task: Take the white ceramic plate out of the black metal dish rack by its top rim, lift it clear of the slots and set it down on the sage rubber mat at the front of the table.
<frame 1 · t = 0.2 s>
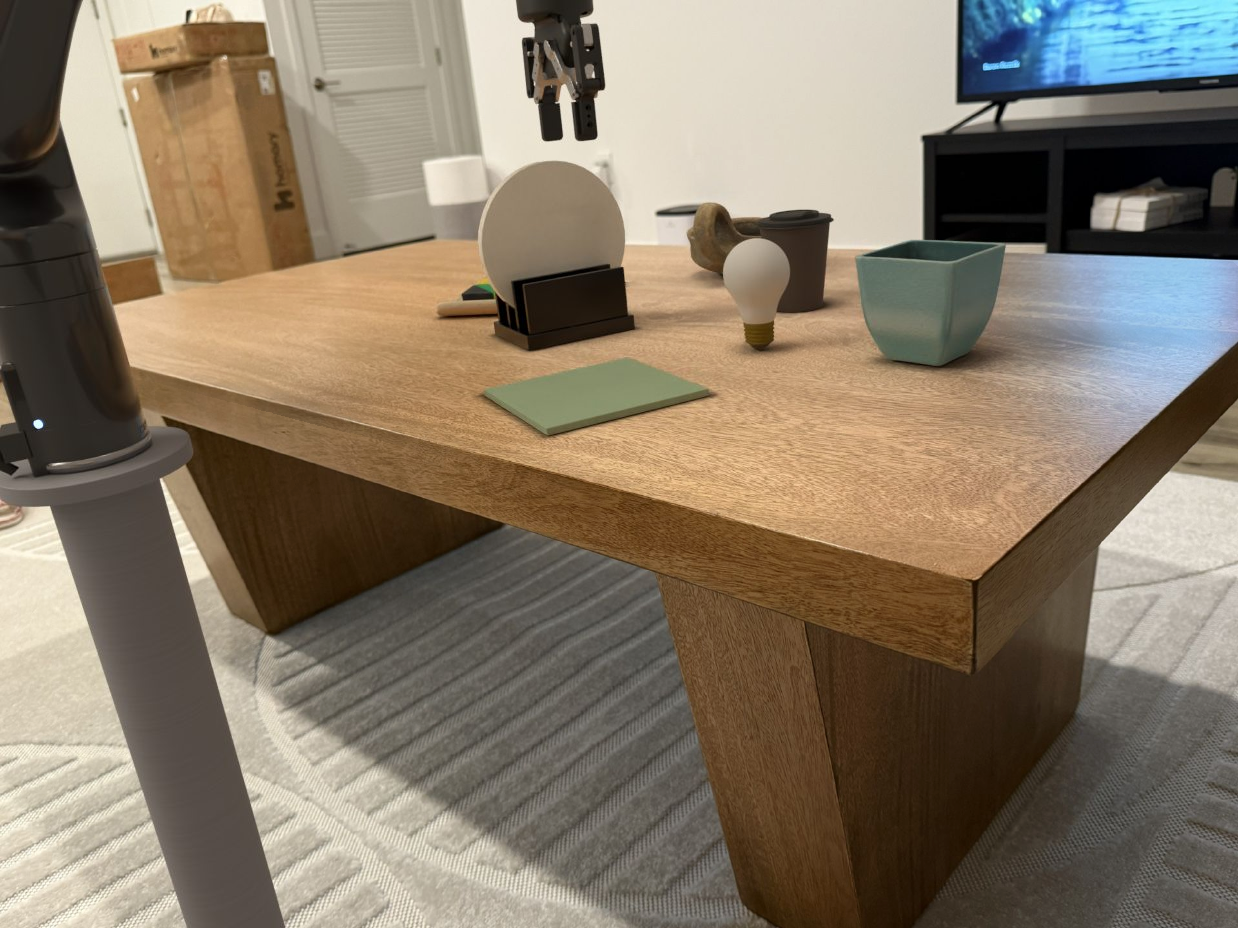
hand: (569, 140, 101), 19 cm above the table, tool pointing down, fingers open, 8 cm apart
rack: (563, 332, 105), on the table
flower pot: (928, 360, 82), on the table
plate: (562, 318, 104), point 2 cm above the table, touching rack
wooden puzzle: (529, 302, 124), on the table
mat: (592, 395, 81), on the table
light bulb: (760, 351, 90), on the table
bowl: (736, 277, 126), on the table
coffee cup: (797, 308, 105), on the table
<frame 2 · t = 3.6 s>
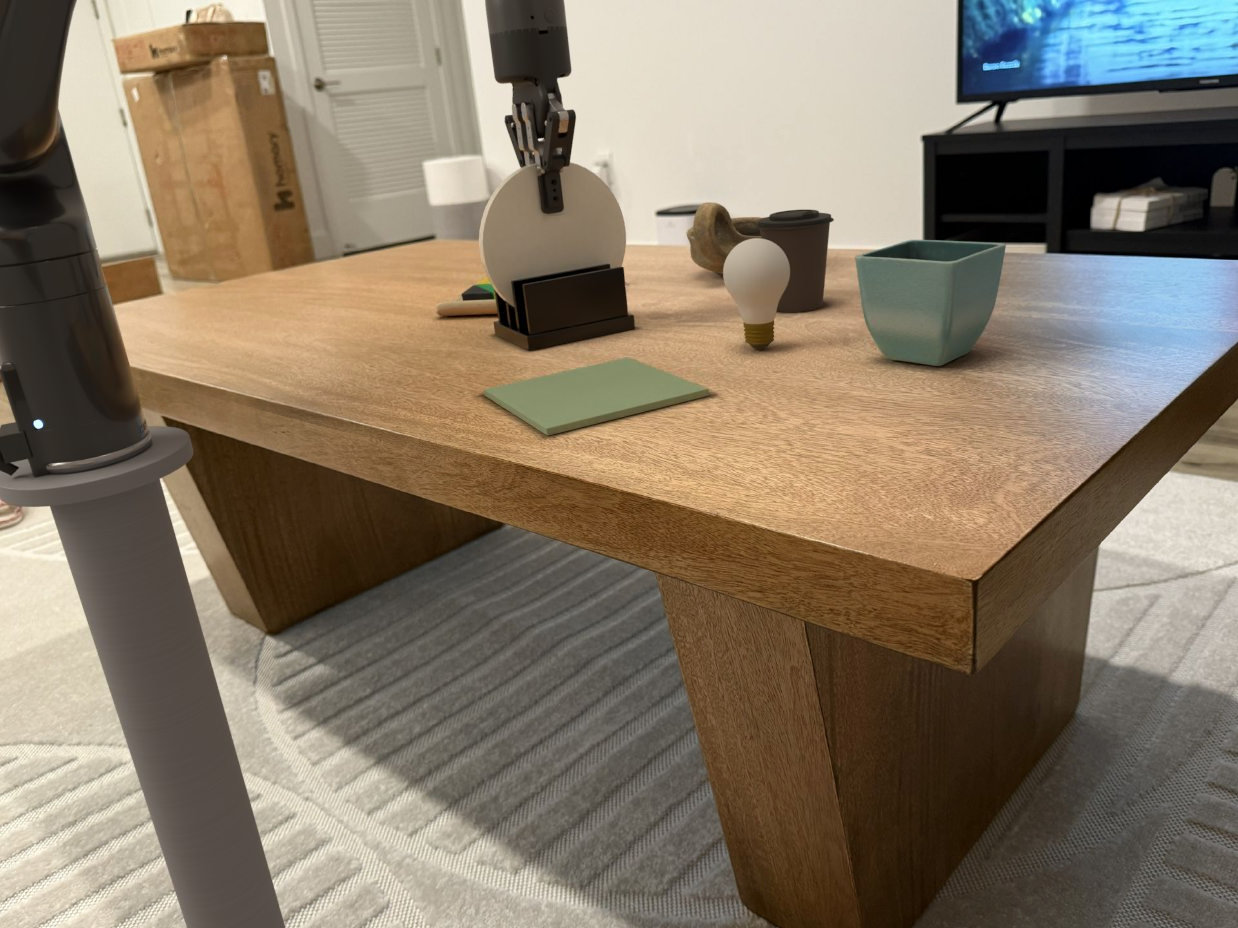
hand: (549, 211, 100), 13 cm above the table, tool pointing down, fingers closed on plate, 1 cm apart
plate: (562, 318, 104), point 2 cm above the table, touching gripper, rack
everything else where it was.
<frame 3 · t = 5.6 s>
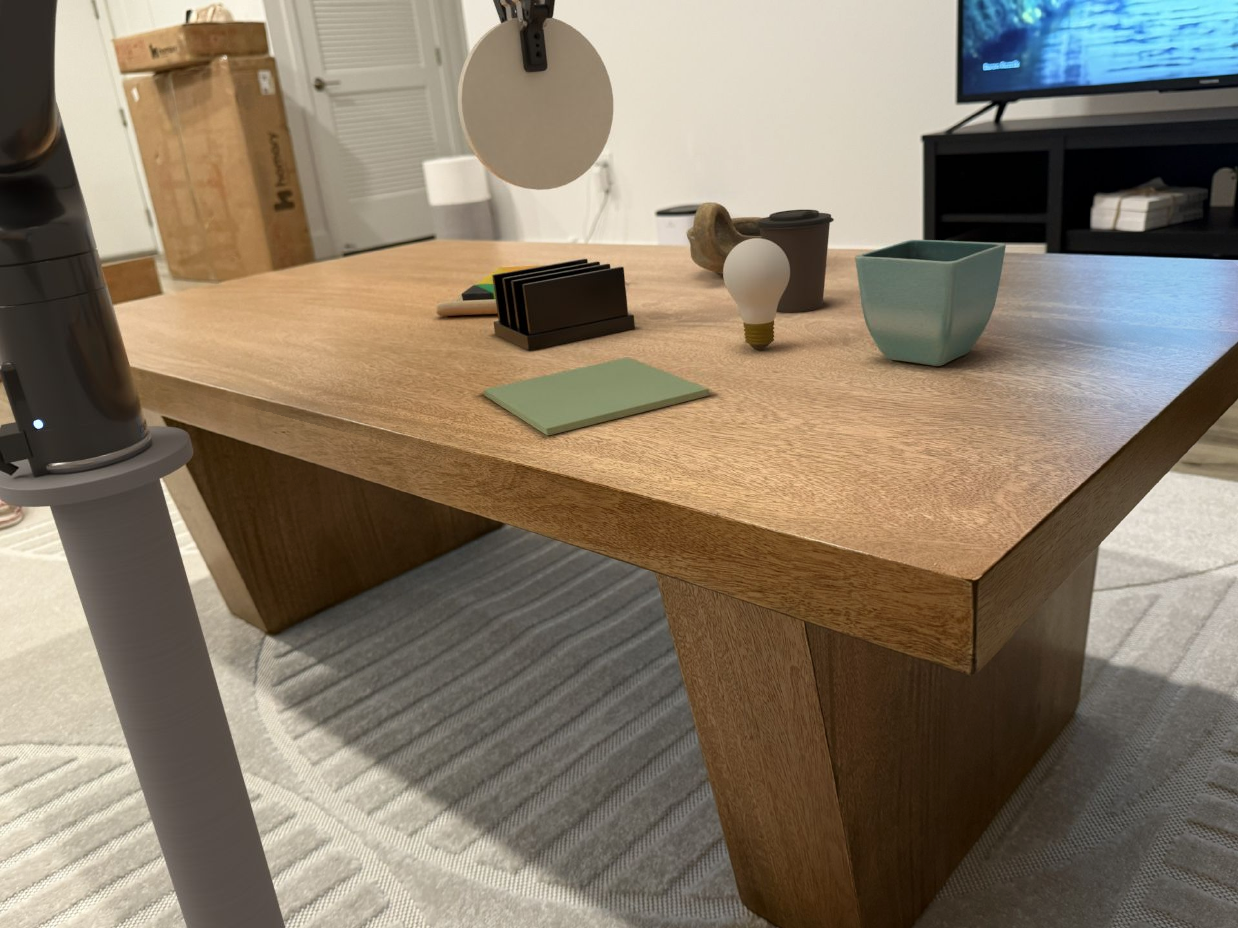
hand: (532, 71, 95), 26 cm above the table, tool pointing down, fingers closed on plate, 1 cm apart
plate: (546, 189, 99), point 15 cm above the table, touching gripper
everything else where it was.
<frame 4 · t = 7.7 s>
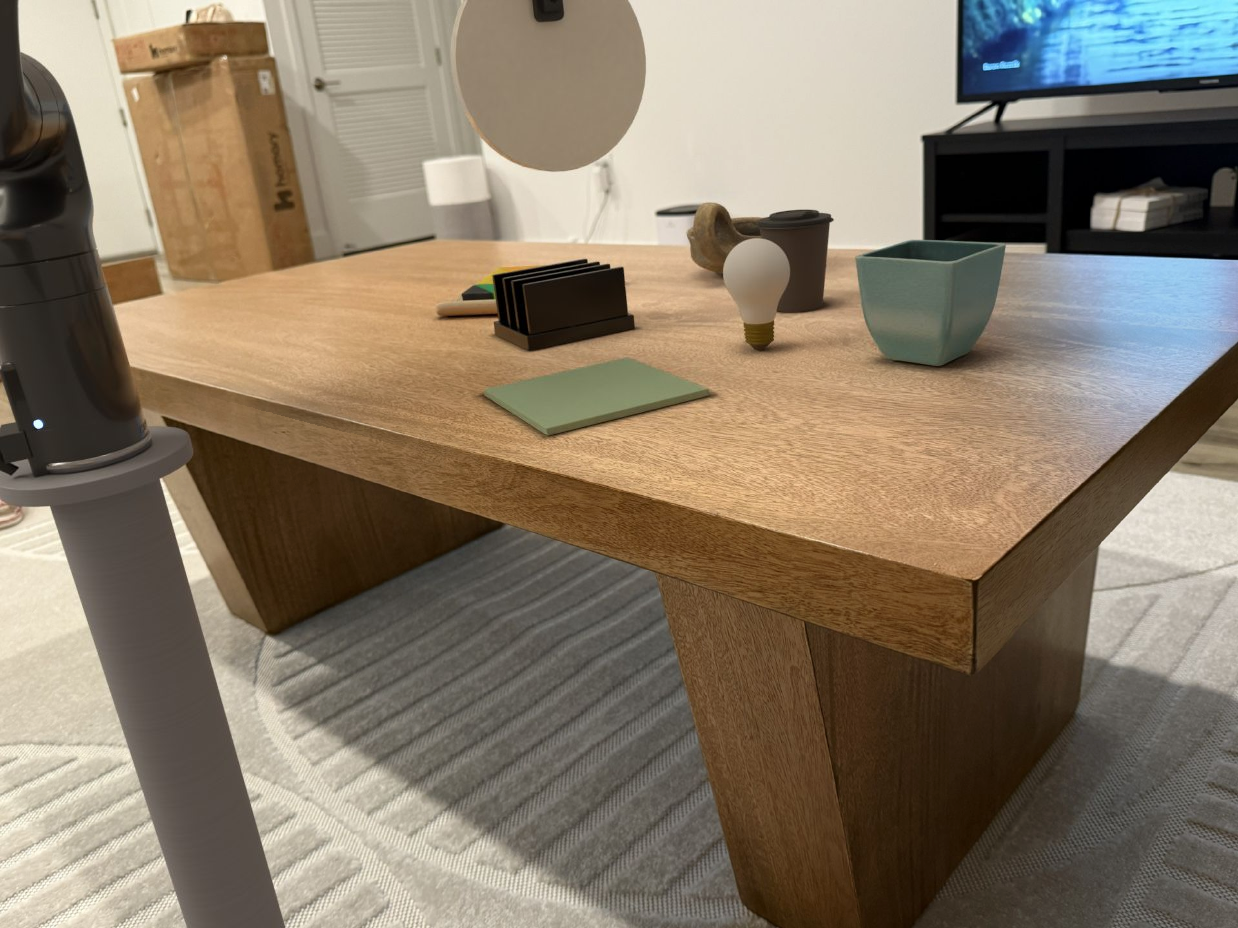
hand: (545, 21, 75), 29 cm above the table, tool pointing down, fingers closed on plate, 1 cm apart
plate: (561, 171, 79), point 18 cm above the table, touching gripper
everything else where it was.
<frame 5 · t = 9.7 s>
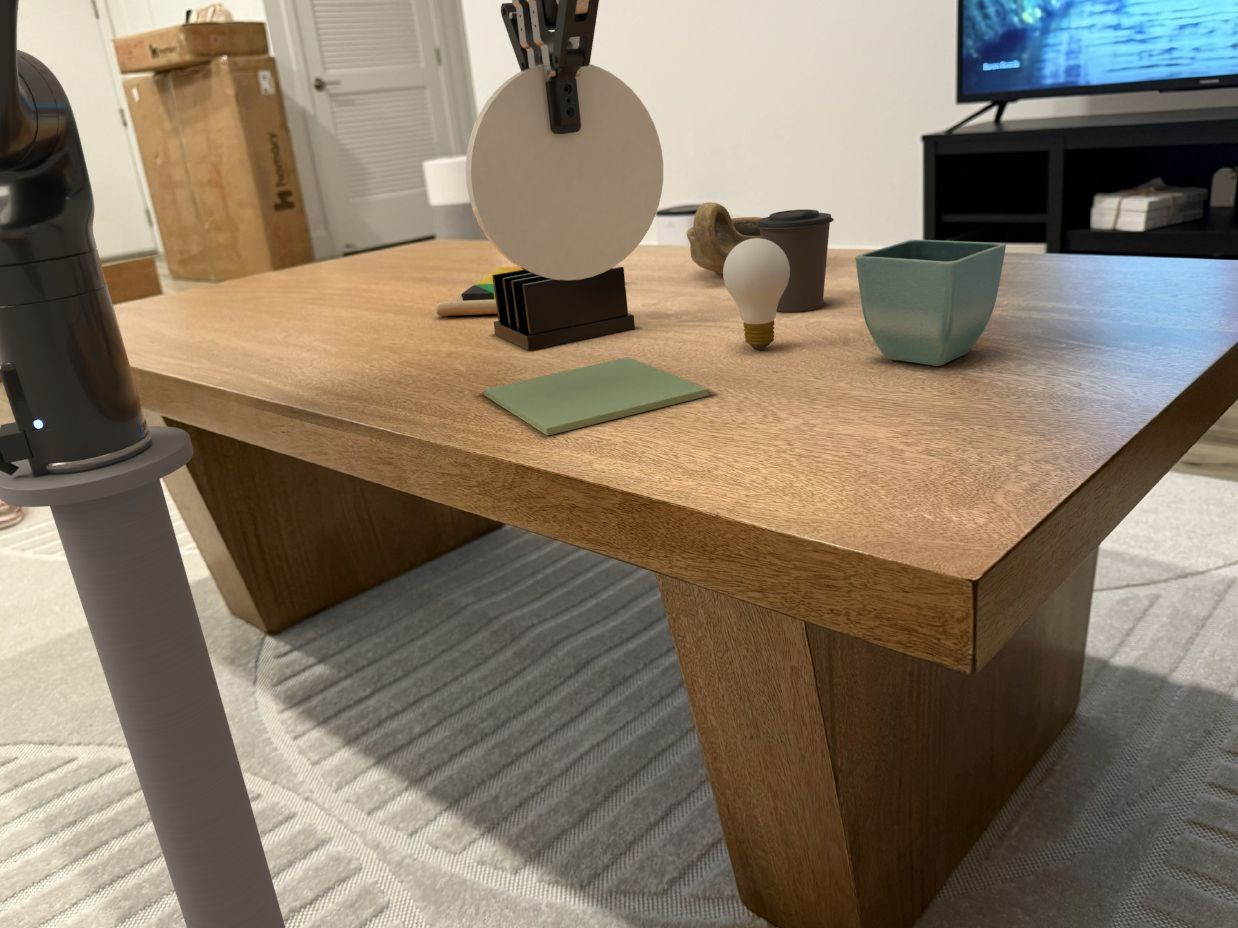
hand: (561, 132, 74), 21 cm above the table, tool pointing down, fingers closed on plate, 1 cm apart
plate: (577, 278, 78), point 10 cm above the table, touching gripper
everything else where it was.
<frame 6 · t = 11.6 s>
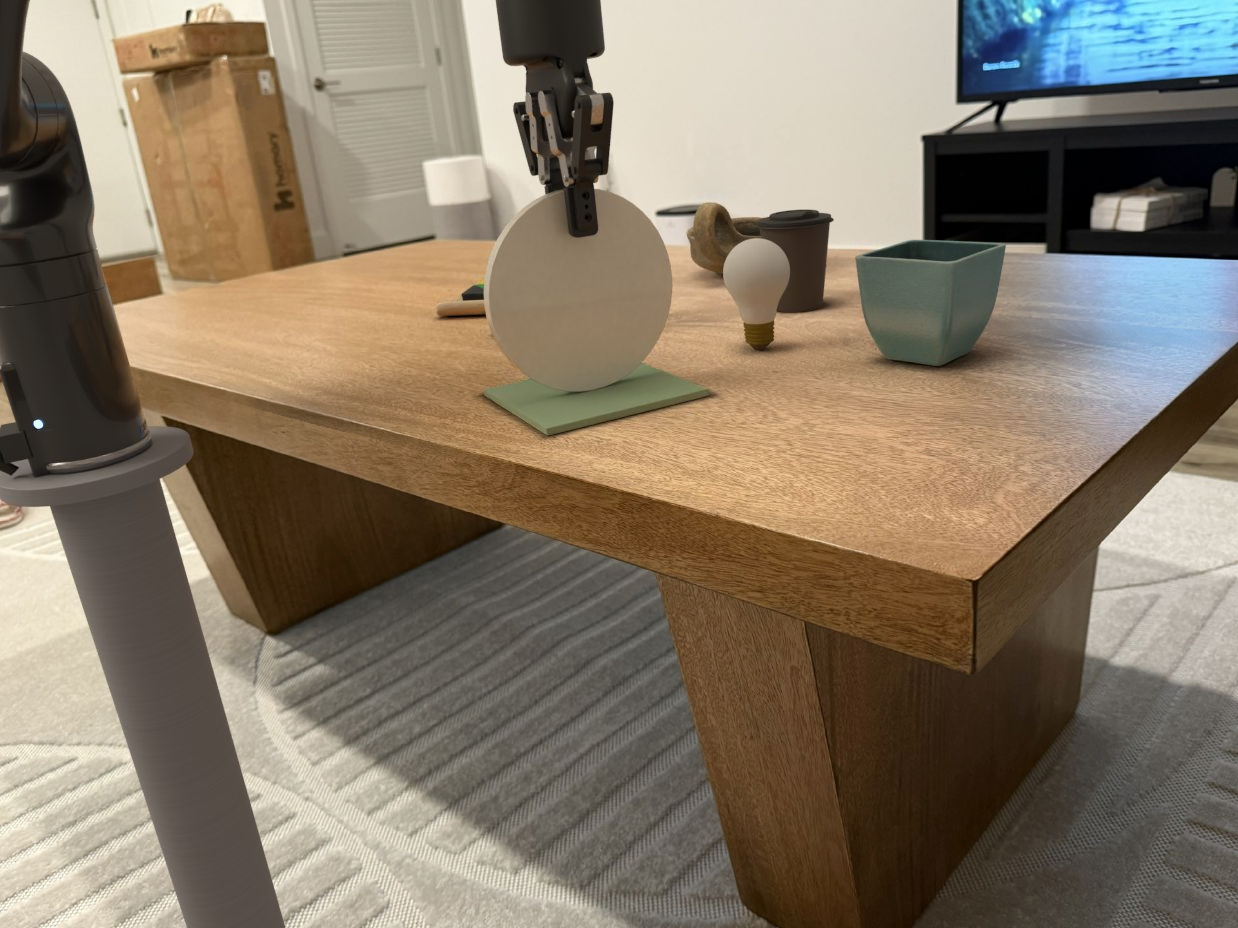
hand: (574, 233, 77), 13 cm above the table, tool pointing down, fingers open, 3 cm apart
plate: (590, 388, 81), point 1 cm above the table, touching mat
everything else where it was.
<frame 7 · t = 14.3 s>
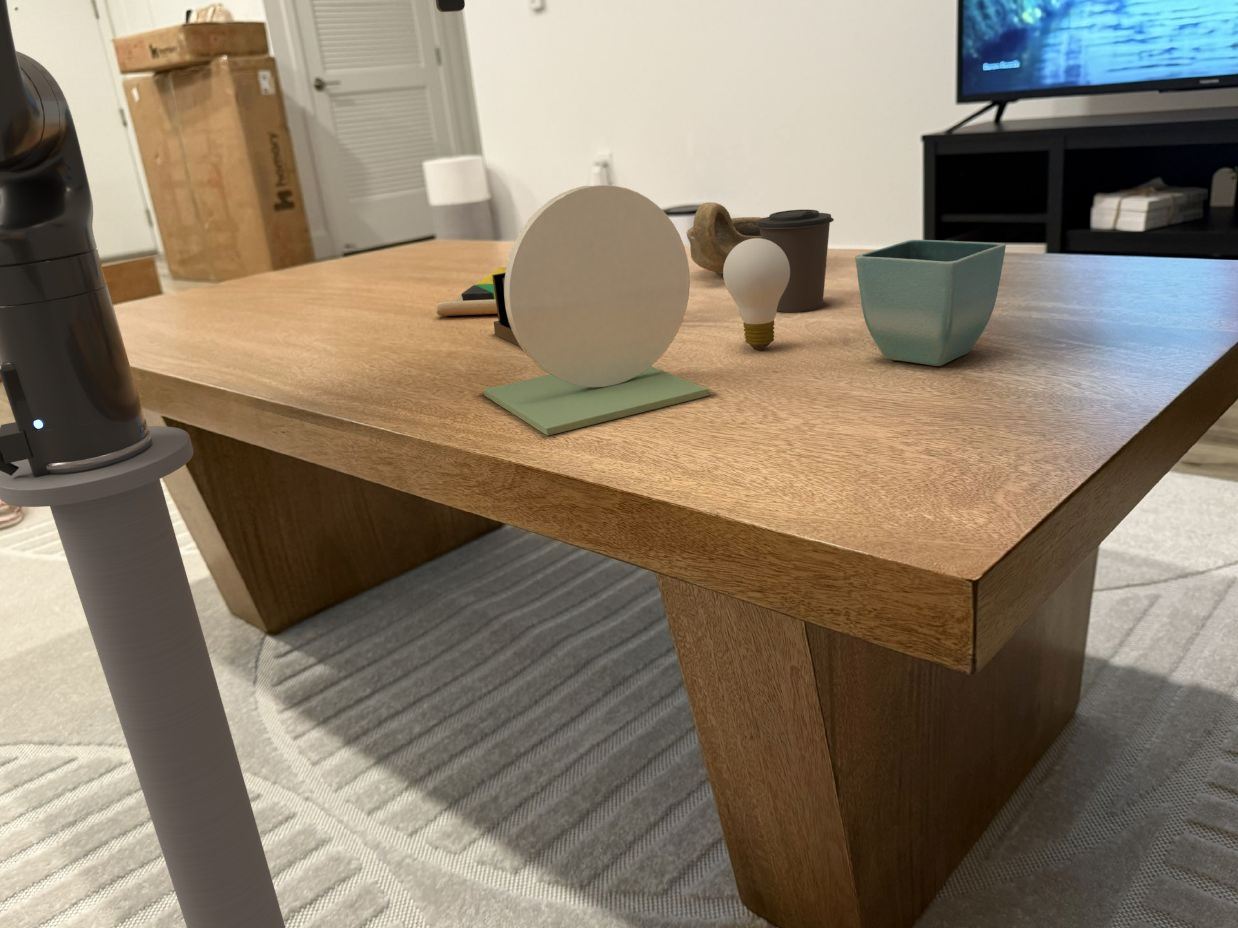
hand: (467, 5, 77), 31 cm above the table, tool pointing down, fingers open, 8 cm apart
plate: (590, 386, 81), point 1 cm above the table, tilted 13°, touching mat
everything else where it was.
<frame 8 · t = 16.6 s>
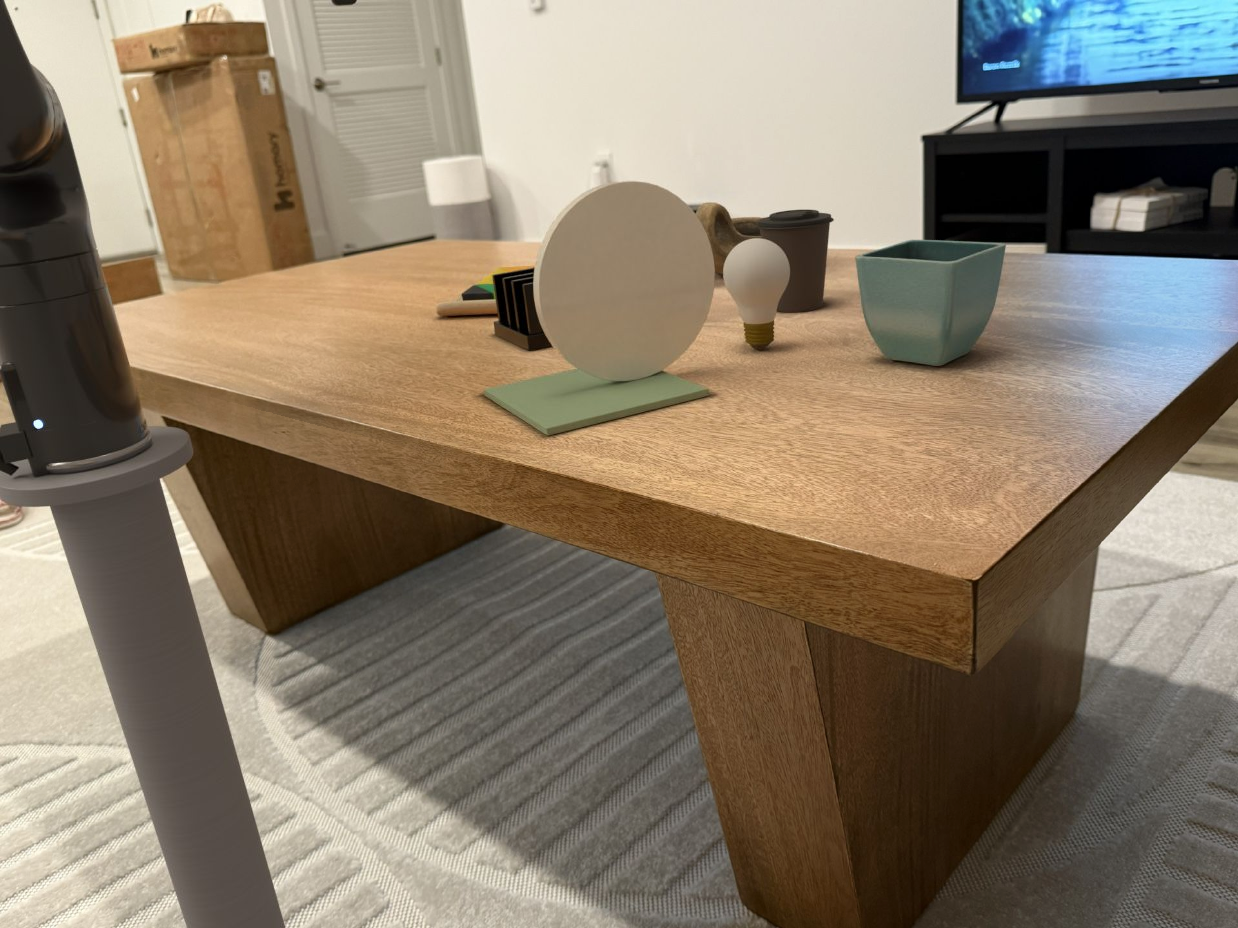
plate: (591, 375, 81), point 2 cm above the table, tilted 31°, touching mat
everything else where it was.
at the end: plate inside the target area on the mat (0.1 cm from its centre), point 1.8 cm above the mat's base; plate touching mat; the gripper is holding nothing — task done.
